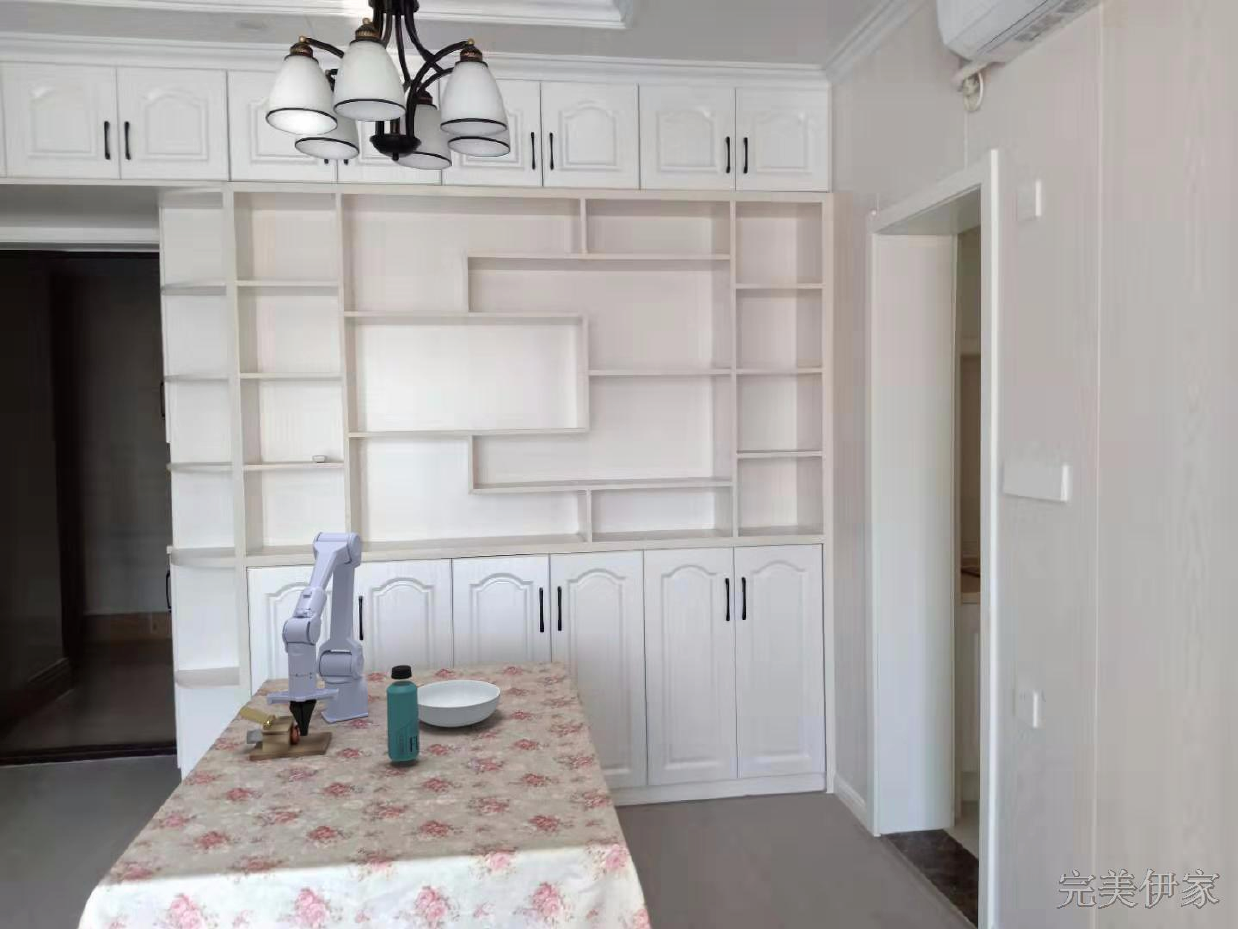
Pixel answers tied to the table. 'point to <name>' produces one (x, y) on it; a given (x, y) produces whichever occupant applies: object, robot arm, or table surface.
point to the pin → (256, 735)
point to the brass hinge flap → (255, 715)
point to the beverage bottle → (402, 716)
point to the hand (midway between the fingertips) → (304, 734)
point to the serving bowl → (457, 702)
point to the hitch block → (288, 741)
